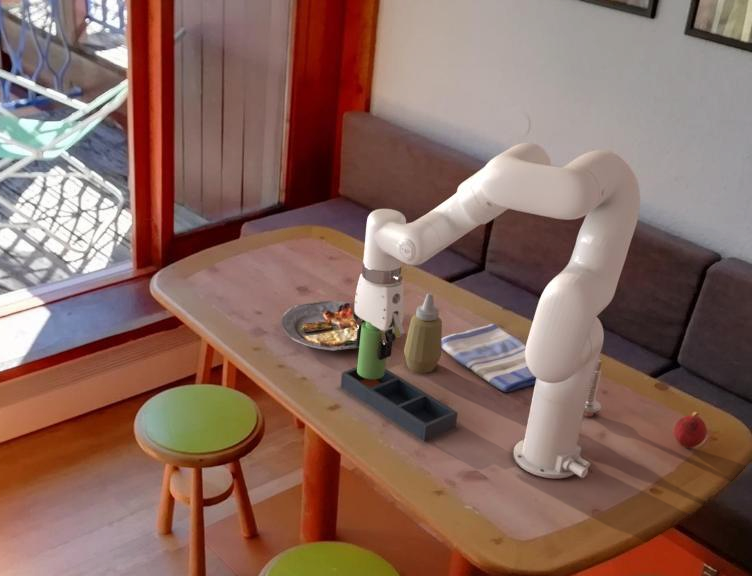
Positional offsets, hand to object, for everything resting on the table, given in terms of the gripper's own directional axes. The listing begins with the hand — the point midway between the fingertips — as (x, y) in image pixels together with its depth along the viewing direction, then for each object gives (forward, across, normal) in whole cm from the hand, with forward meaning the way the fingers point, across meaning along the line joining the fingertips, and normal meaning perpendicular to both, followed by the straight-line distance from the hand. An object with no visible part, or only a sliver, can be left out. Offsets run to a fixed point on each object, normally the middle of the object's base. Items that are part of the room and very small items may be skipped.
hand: (373, 350), depth 217 cm
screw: (+10, -32, -31) cm, 46 cm away
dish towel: (+10, -7, -32) cm, 34 cm away
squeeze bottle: (+10, +1, -16) cm, 19 cm away
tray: (+10, -8, 0) cm, 13 cm away
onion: (+10, -51, -37) cm, 64 cm away
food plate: (+10, +24, -11) cm, 28 cm away
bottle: (+5, 0, 0) cm, 5 cm away
